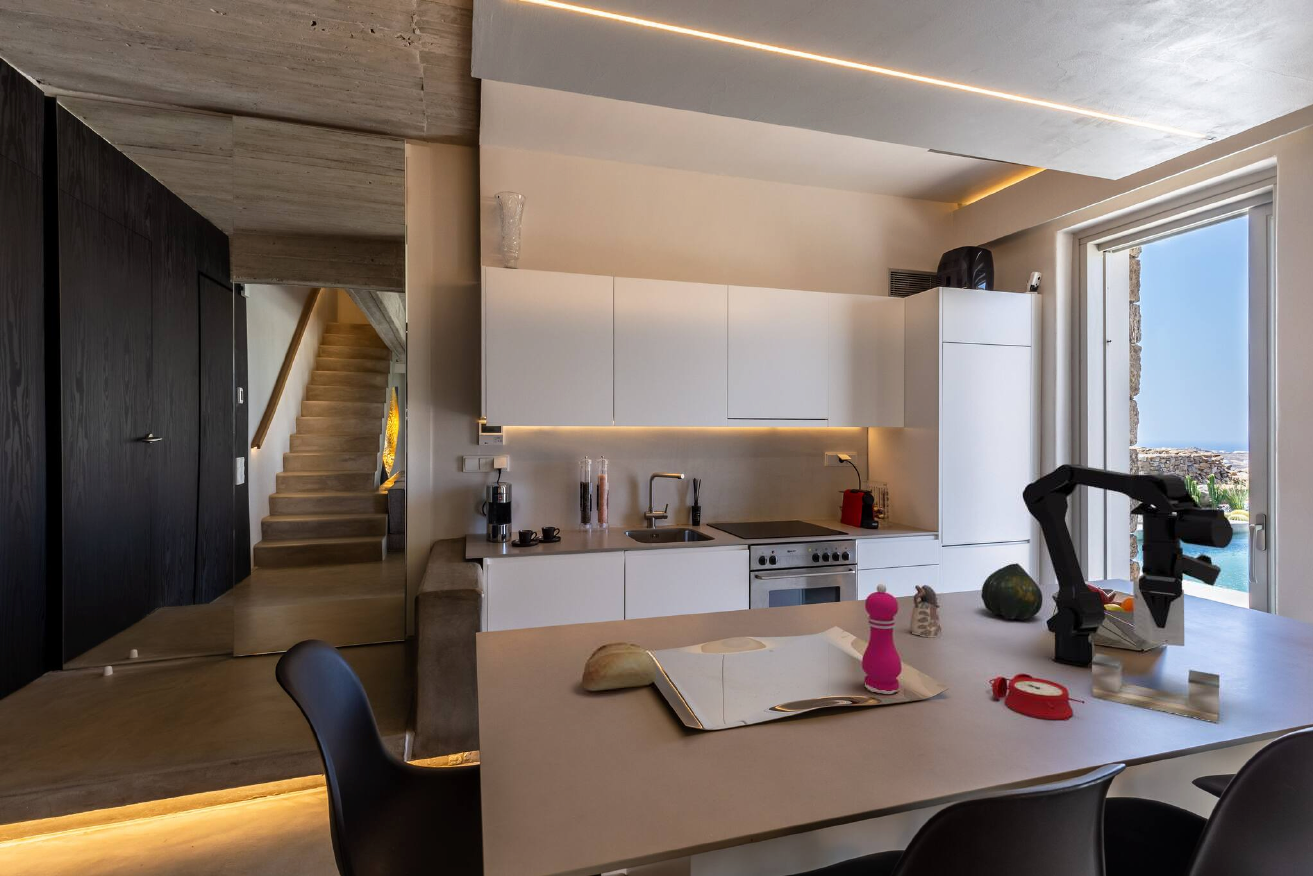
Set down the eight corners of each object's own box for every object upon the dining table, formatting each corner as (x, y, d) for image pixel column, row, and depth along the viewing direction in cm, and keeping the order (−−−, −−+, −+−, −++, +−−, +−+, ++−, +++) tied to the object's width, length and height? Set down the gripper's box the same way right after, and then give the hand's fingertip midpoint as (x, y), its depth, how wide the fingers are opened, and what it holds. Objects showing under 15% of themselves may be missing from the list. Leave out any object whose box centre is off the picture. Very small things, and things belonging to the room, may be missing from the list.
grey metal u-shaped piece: (1091, 696, 121) (1091, 662, 121) (1097, 684, 127) (1097, 652, 127) (1219, 724, 110) (1219, 686, 110) (1219, 709, 116) (1219, 673, 116)
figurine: (946, 638, 158) (946, 588, 158) (916, 637, 158) (916, 588, 158) (934, 629, 165) (934, 582, 165) (905, 629, 165) (905, 582, 165)
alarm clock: (1048, 706, 108) (978, 658, 122) (1041, 739, 110) (972, 688, 123) (1093, 698, 112) (1020, 652, 126) (1085, 730, 113) (1014, 681, 127)
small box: (1185, 647, 120) (1185, 590, 120) (1148, 644, 121) (1149, 587, 121) (1166, 635, 127) (1166, 581, 127) (1132, 632, 129) (1132, 579, 129)
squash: (980, 601, 172) (1020, 559, 171) (963, 591, 187) (1000, 552, 186) (1024, 639, 170) (1065, 597, 169) (1004, 626, 185) (1041, 587, 183)
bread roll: (573, 684, 127) (573, 643, 127) (643, 672, 134) (643, 633, 134) (591, 702, 118) (591, 658, 118) (664, 688, 125) (664, 646, 125)
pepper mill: (907, 688, 125) (907, 584, 125) (892, 699, 120) (892, 590, 120) (871, 679, 130) (871, 578, 130) (855, 689, 125) (855, 584, 125)
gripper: (1218, 550, 112) (1219, 642, 112) (1215, 538, 126) (1216, 619, 126) (1138, 544, 119) (1138, 630, 119) (1143, 533, 133) (1144, 610, 133)
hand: (1161, 622), depth 124 cm, fingers closed on small box, 9 cm apart
